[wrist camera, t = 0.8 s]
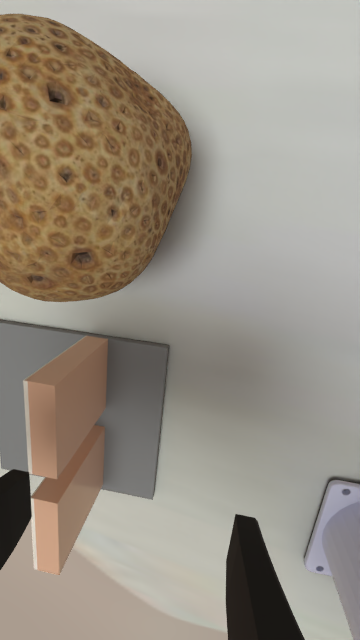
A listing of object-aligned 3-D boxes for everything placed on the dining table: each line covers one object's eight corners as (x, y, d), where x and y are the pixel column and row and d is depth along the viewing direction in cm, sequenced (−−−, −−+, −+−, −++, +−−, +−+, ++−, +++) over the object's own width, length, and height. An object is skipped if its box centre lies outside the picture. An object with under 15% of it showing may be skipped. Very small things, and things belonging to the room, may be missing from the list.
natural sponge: (15, 222, 17) (-242, 200, 8) (81, 68, 14) (-185, -261, 5) (140, 307, 18) (44, 388, 8) (227, 172, 15) (238, 53, 5)
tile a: (108, 338, 18) (54, 385, 12) (105, 408, 19) (57, 479, 14) (85, 335, 18) (22, 380, 12) (84, 404, 19) (27, 473, 14)
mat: (168, 345, 18) (167, 348, 17) (154, 493, 21) (152, 499, 21) (-7, 318, 19) (-13, 320, 19) (6, 463, 23) (1, 468, 22)
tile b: (105, 426, 20) (57, 503, 14) (103, 484, 21) (59, 575, 15) (84, 423, 20) (29, 497, 14) (84, 480, 21) (33, 568, 15)
